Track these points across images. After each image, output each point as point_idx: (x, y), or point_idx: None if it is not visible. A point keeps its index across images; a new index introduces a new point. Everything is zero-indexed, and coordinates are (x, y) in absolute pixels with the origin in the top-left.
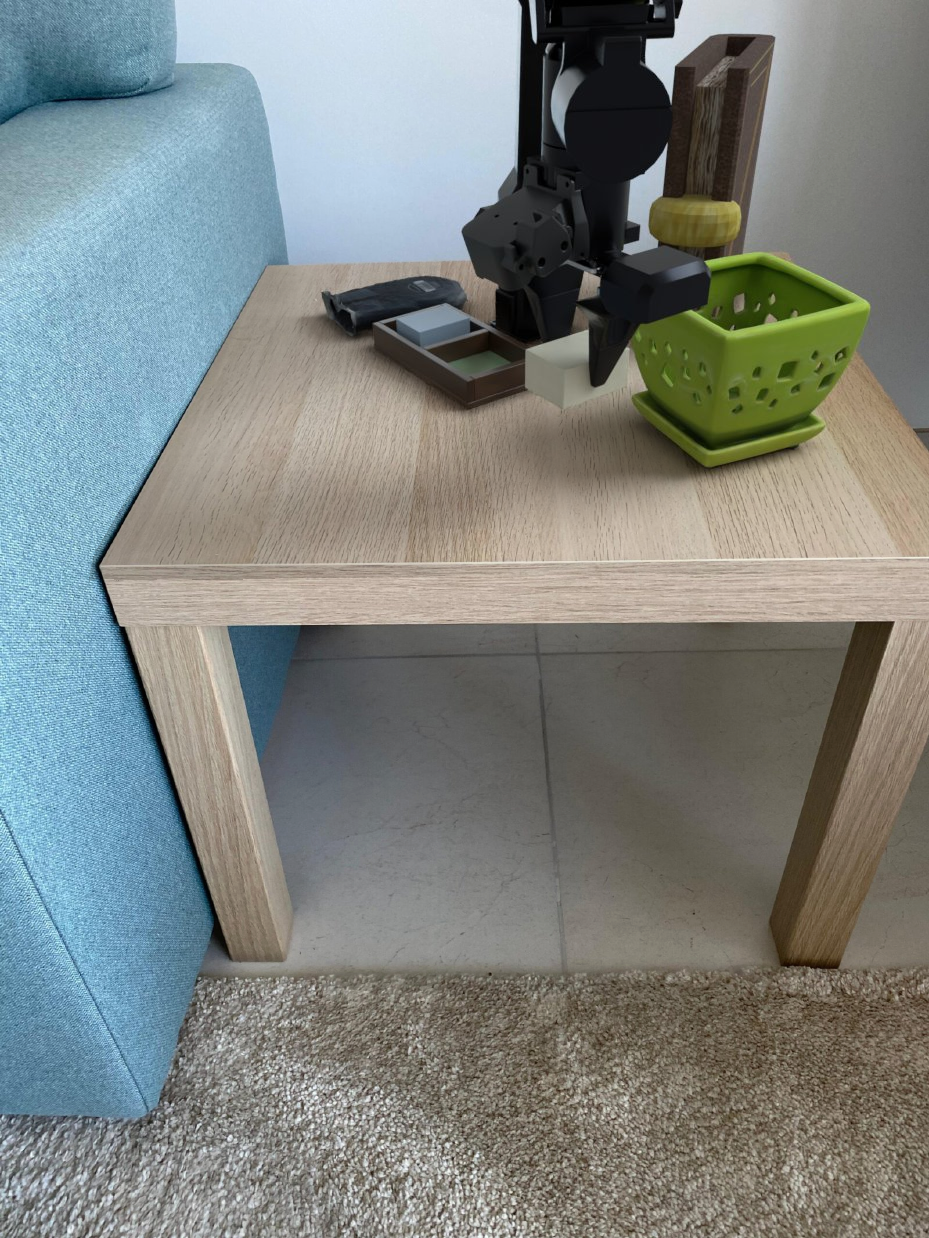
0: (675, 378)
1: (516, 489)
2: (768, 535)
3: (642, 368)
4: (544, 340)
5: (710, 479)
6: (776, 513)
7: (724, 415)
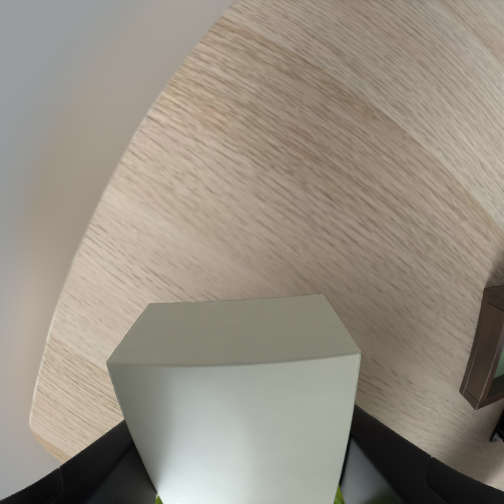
0: None
1: (294, 229)
2: (70, 393)
3: (339, 488)
4: (369, 430)
5: None
6: (99, 423)
7: None
